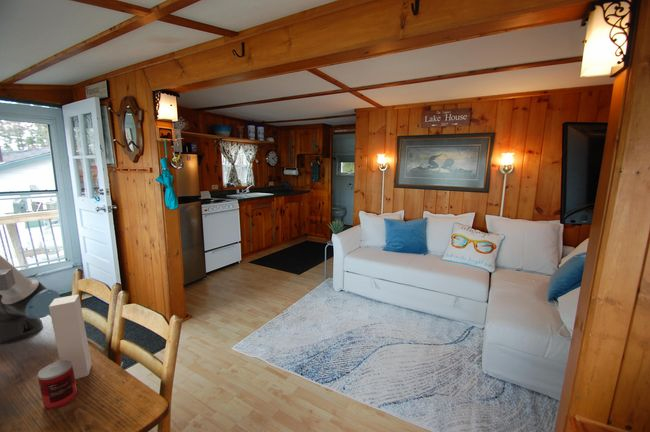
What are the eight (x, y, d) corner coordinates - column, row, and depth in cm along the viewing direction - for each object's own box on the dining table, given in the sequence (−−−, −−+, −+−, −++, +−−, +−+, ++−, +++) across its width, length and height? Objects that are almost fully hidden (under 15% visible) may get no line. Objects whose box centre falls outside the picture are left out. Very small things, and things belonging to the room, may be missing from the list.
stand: (69, 371, 100) (54, 298, 94) (91, 364, 103) (78, 294, 97) (64, 382, 95) (48, 306, 89) (88, 375, 98) (74, 301, 92)
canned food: (60, 389, 92) (54, 359, 90) (84, 389, 92) (78, 360, 90) (36, 409, 85) (29, 377, 82) (62, 410, 84) (55, 378, 82)
